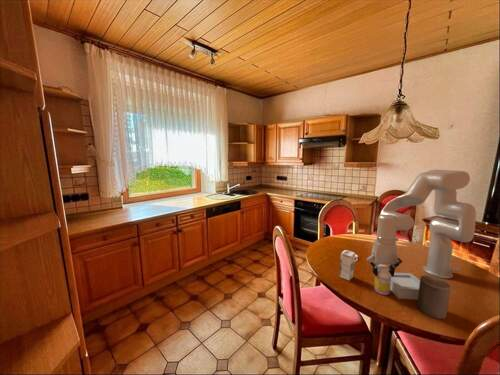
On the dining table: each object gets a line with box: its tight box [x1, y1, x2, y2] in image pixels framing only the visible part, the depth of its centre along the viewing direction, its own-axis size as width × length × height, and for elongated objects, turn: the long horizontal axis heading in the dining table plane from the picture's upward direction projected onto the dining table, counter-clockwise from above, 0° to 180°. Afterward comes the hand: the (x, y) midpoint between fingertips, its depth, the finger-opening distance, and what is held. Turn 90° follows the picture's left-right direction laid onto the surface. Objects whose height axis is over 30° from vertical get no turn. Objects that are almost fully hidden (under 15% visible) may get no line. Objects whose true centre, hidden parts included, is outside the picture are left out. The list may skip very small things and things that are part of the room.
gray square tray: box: [390, 272, 420, 301], centre depth 102 cm, size 14×14×5 cm
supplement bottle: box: [373, 264, 391, 295], centre depth 101 cm, size 7×7×13 cm
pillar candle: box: [416, 274, 452, 320], centre depth 88 cm, size 10×10×15 cm
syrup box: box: [338, 249, 356, 281], centre depth 113 cm, size 6×6×14 cm
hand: (383, 274), depth 101 cm, fingers closed on supplement bottle, 6 cm apart
